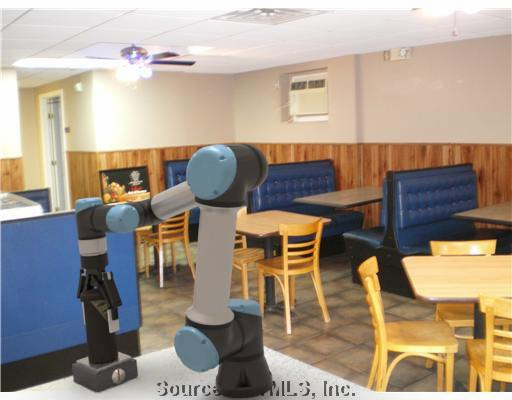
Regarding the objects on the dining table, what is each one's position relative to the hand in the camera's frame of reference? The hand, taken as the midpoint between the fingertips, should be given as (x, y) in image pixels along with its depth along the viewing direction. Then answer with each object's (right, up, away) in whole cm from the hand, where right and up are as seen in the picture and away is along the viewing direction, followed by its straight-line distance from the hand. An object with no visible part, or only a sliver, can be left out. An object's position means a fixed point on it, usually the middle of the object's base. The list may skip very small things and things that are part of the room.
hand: (101, 327), depth 157 cm
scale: (+1, -15, +2) cm, 15 cm away
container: (0, -9, +1) cm, 9 cm away
